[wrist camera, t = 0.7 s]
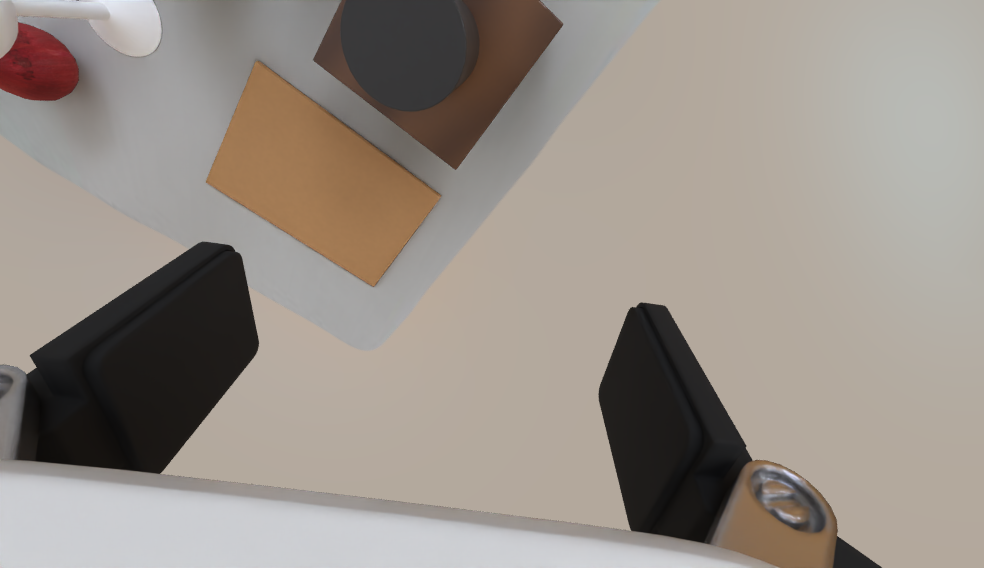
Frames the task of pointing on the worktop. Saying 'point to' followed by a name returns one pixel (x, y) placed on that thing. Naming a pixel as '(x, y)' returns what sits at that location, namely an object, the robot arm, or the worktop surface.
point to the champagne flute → (91, 21)
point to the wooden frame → (474, 104)
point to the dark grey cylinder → (409, 49)
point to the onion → (38, 66)
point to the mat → (318, 178)
